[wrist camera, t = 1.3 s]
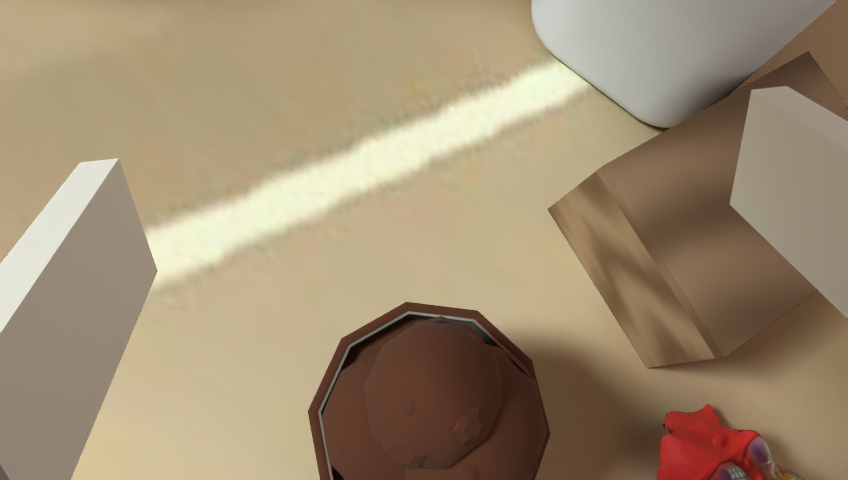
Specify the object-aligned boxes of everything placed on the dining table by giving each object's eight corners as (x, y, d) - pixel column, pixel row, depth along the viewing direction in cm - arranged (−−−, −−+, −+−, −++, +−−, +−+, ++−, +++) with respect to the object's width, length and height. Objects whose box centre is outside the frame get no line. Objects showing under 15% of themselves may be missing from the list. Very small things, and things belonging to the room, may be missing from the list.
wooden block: (547, 209, 44) (602, 166, 37) (727, 107, 50) (808, 51, 42) (646, 367, 43) (725, 357, 35) (821, 246, 48) (922, 214, 41)
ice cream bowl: (270, 479, 37) (264, 517, 23) (355, 297, 40) (395, 232, 26) (444, 555, 38) (542, 637, 24) (512, 370, 41) (634, 344, 27)
